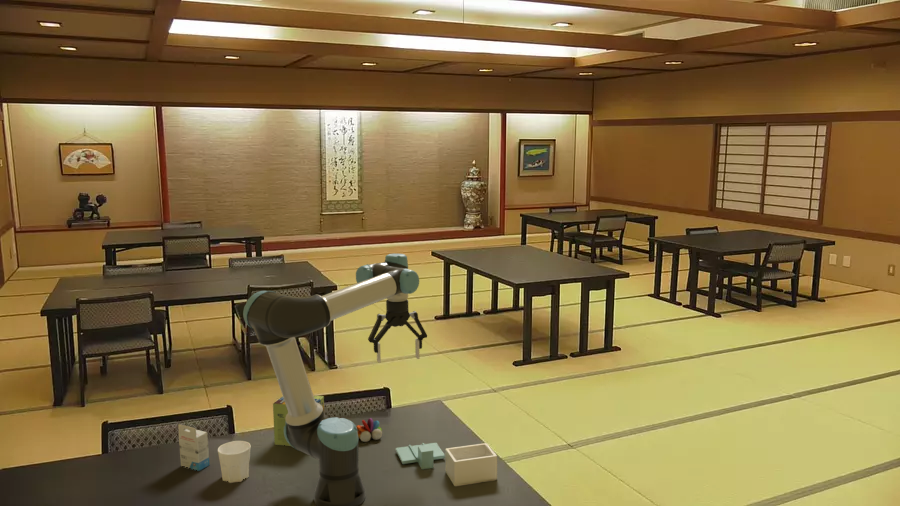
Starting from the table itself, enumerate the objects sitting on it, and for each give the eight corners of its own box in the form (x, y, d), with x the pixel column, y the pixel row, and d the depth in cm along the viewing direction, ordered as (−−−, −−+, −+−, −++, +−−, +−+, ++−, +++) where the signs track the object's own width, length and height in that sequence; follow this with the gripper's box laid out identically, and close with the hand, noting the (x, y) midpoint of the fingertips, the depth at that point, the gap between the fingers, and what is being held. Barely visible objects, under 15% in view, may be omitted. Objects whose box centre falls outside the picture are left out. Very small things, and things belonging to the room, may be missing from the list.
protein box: (314, 448, 240) (313, 406, 238) (274, 445, 243) (272, 403, 241) (326, 436, 250) (324, 395, 248) (286, 433, 253) (284, 393, 251)
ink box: (210, 465, 227) (207, 423, 225) (198, 471, 223) (195, 428, 221) (191, 460, 231) (189, 418, 229) (180, 466, 227) (177, 423, 225)
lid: (405, 472, 222) (405, 454, 221) (395, 452, 236) (395, 435, 235) (449, 466, 226) (448, 448, 225) (436, 447, 241) (436, 430, 240)
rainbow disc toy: (352, 435, 251) (352, 417, 250) (377, 431, 255) (377, 412, 254) (359, 444, 243) (359, 425, 242) (385, 439, 247) (385, 420, 246)
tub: (454, 486, 212) (454, 461, 211) (445, 471, 222) (445, 448, 221) (497, 479, 216) (497, 455, 215) (486, 466, 226) (486, 443, 225)
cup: (218, 486, 213) (216, 456, 212) (220, 471, 223) (218, 442, 222) (252, 481, 216) (250, 452, 215) (252, 467, 226) (250, 439, 224)
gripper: (362, 304, 226) (364, 366, 229) (435, 299, 233) (436, 359, 236) (358, 299, 233) (360, 359, 236) (429, 294, 240) (430, 353, 243)
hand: (398, 359), depth 236 cm, fingers open, 13 cm apart
